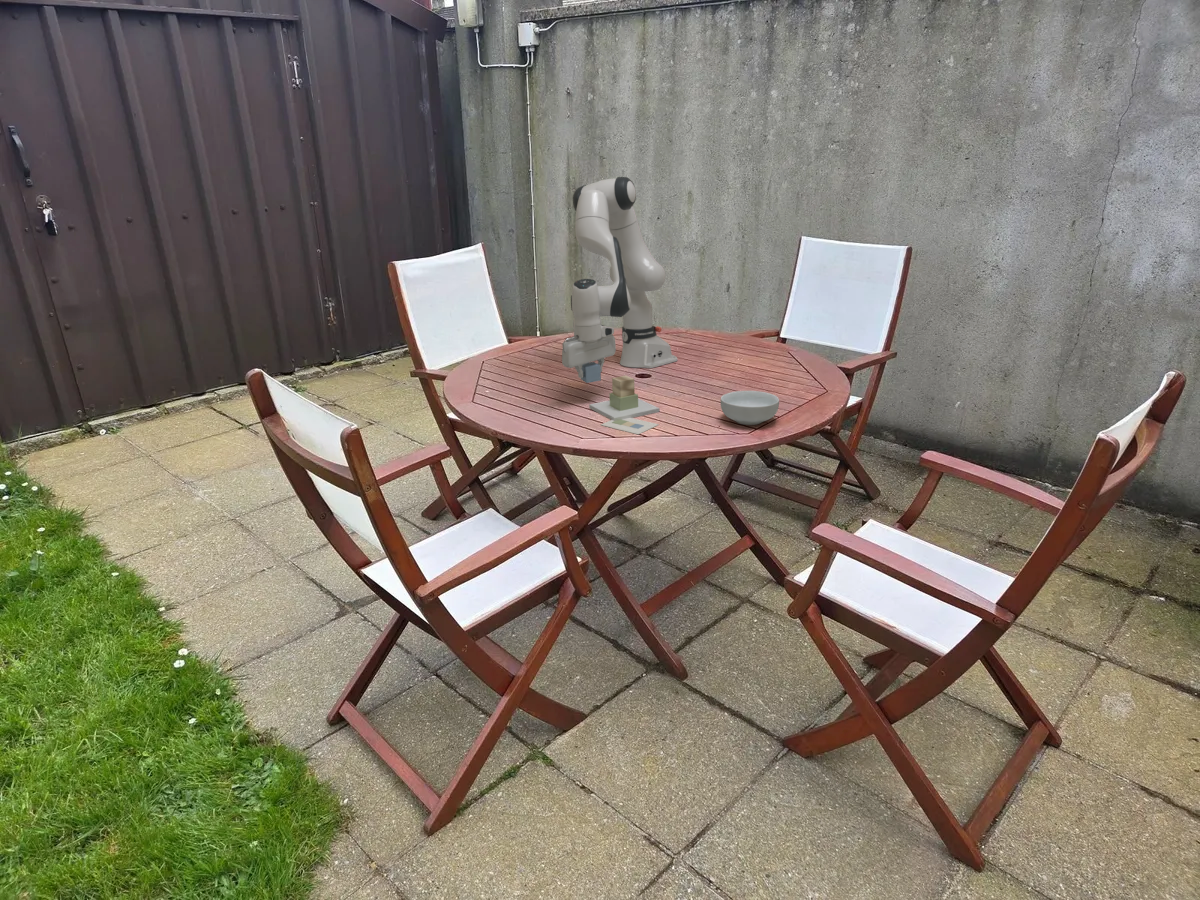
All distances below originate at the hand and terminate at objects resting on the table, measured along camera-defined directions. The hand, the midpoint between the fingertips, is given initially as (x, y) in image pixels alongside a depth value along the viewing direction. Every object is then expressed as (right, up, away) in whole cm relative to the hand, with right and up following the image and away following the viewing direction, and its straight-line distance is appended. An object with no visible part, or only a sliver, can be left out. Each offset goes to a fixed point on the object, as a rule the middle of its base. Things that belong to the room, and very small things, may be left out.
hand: (590, 374), depth 240 cm
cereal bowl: (+47, -16, -19) cm, 53 cm away
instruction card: (+12, -17, -19) cm, 28 cm away
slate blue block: (0, -2, +1) cm, 2 cm away
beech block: (+10, -7, -8) cm, 15 cm away
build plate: (+11, -12, -6) cm, 17 cm away
